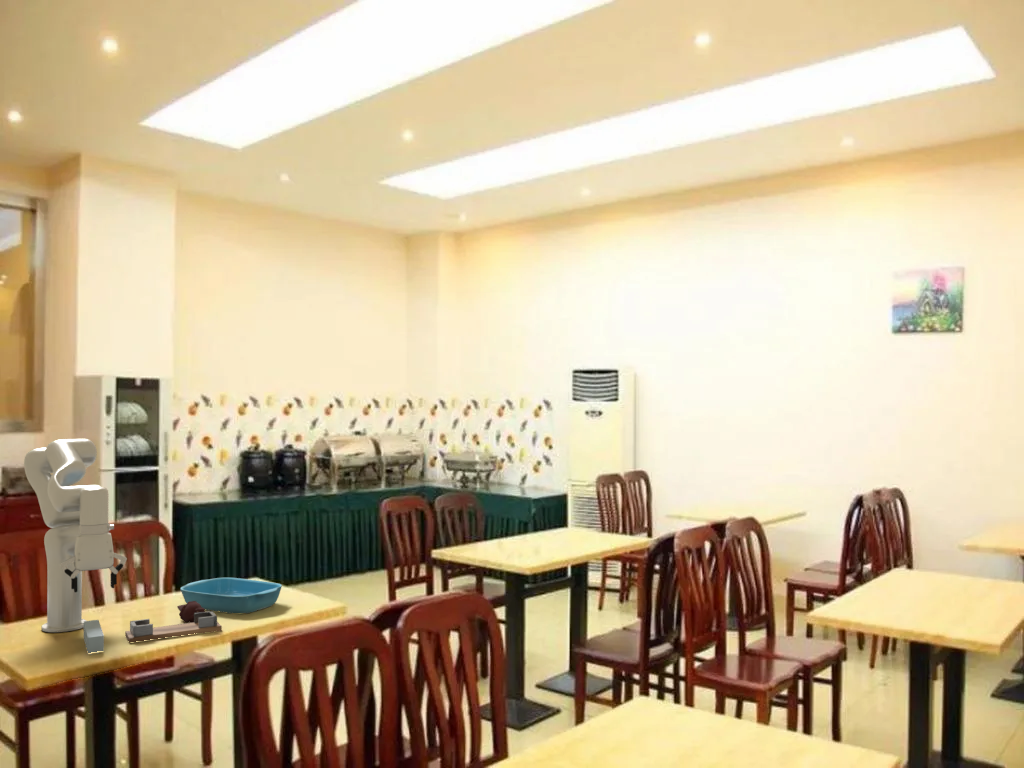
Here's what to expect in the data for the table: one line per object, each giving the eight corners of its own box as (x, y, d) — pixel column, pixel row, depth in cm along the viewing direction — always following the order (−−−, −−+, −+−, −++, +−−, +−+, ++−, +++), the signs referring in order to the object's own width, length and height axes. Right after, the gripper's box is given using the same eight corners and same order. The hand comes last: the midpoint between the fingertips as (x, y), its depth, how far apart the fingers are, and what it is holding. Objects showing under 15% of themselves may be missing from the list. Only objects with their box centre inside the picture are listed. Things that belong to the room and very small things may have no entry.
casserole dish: (167, 607, 292) (167, 586, 293) (217, 593, 312) (217, 574, 312) (246, 620, 275) (246, 597, 275) (294, 605, 295) (294, 584, 295)
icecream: (165, 601, 273) (192, 612, 264) (186, 591, 278) (213, 602, 269) (169, 621, 274) (196, 633, 265) (189, 611, 280) (216, 622, 271)
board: (125, 636, 256) (125, 631, 256) (215, 624, 269) (215, 619, 269) (129, 643, 248) (129, 638, 248) (221, 630, 262) (221, 626, 262)
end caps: (130, 631, 256) (130, 621, 256) (211, 620, 268) (211, 610, 268) (133, 637, 249) (133, 626, 249) (217, 626, 262) (217, 616, 262)
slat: (87, 655, 238) (87, 637, 238) (83, 638, 255) (83, 621, 255) (103, 653, 240) (103, 635, 240) (98, 636, 257) (98, 619, 257)
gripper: (125, 526, 255) (125, 583, 255) (59, 531, 247) (59, 590, 246) (128, 529, 249) (128, 588, 249) (61, 534, 240) (61, 595, 240)
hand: (94, 589), depth 247 cm, fingers open, 9 cm apart
